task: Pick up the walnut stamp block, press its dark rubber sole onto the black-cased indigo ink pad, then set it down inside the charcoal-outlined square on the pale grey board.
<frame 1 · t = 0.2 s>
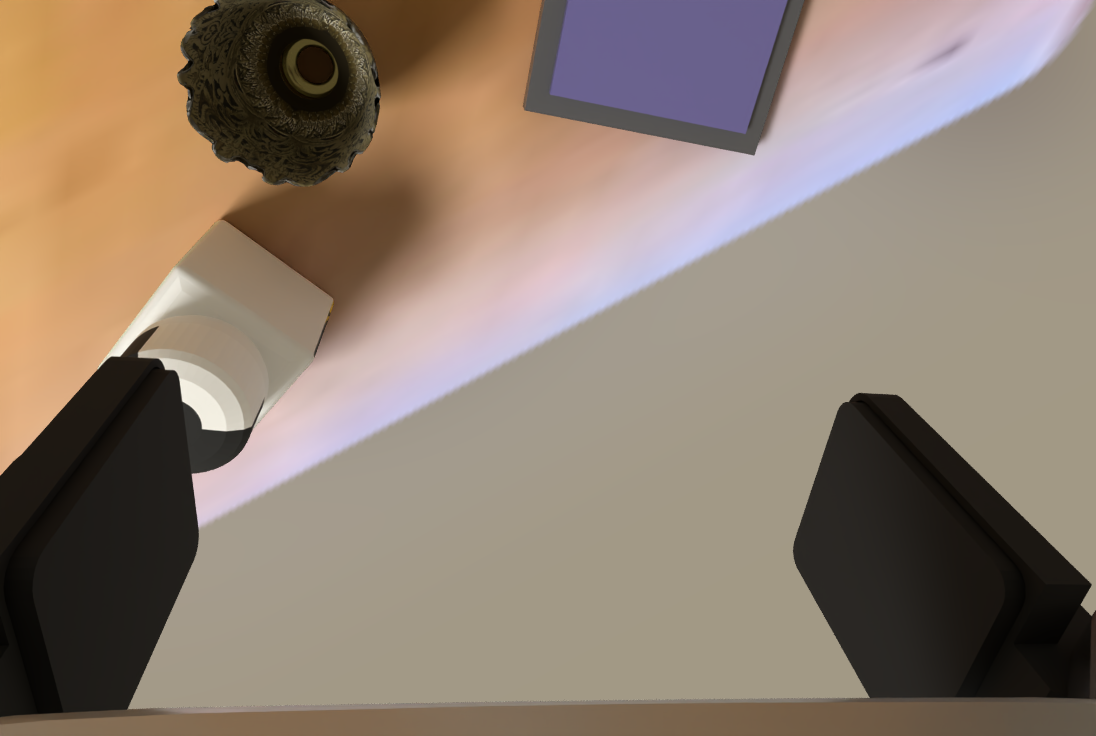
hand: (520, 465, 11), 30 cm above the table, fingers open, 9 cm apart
medicine bottle: (244, 303, 41), on the table
cup: (316, 64, 36), on the table
ink pad: (669, 1, 36), on the table
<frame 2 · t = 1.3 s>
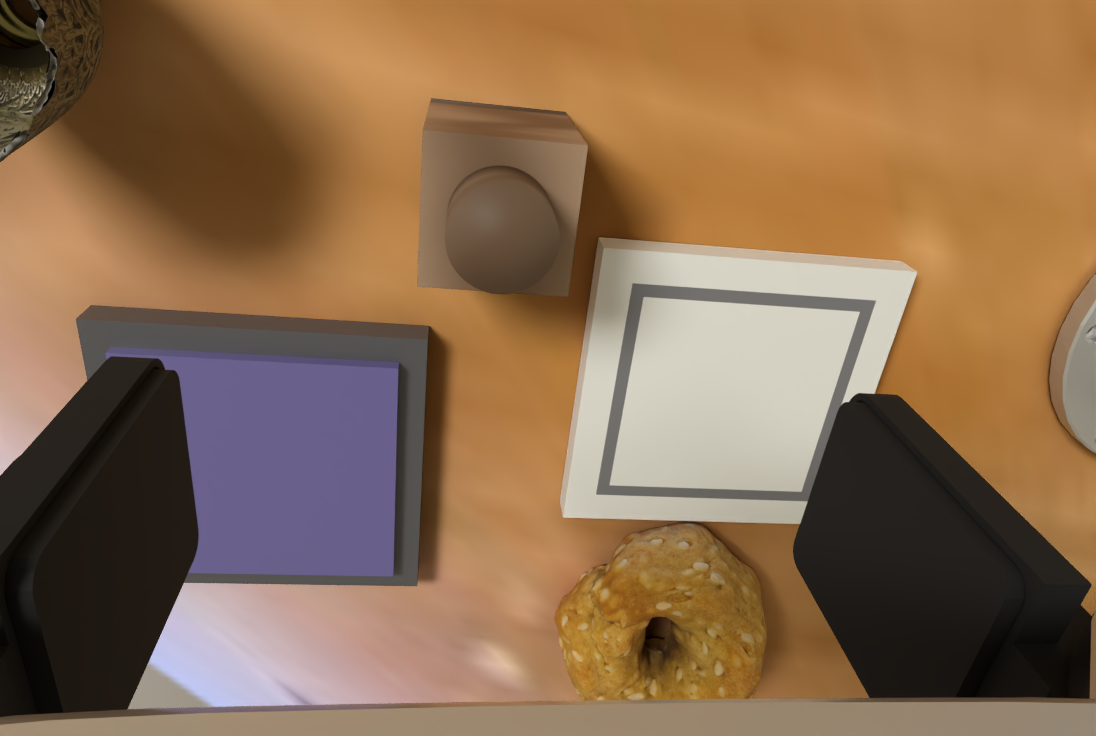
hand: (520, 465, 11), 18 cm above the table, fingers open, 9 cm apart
ink pad: (273, 451, 31), on the table
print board: (720, 387, 31), on the table
stamp: (493, 172, 26), on the table
bagel: (652, 597, 37), on the table
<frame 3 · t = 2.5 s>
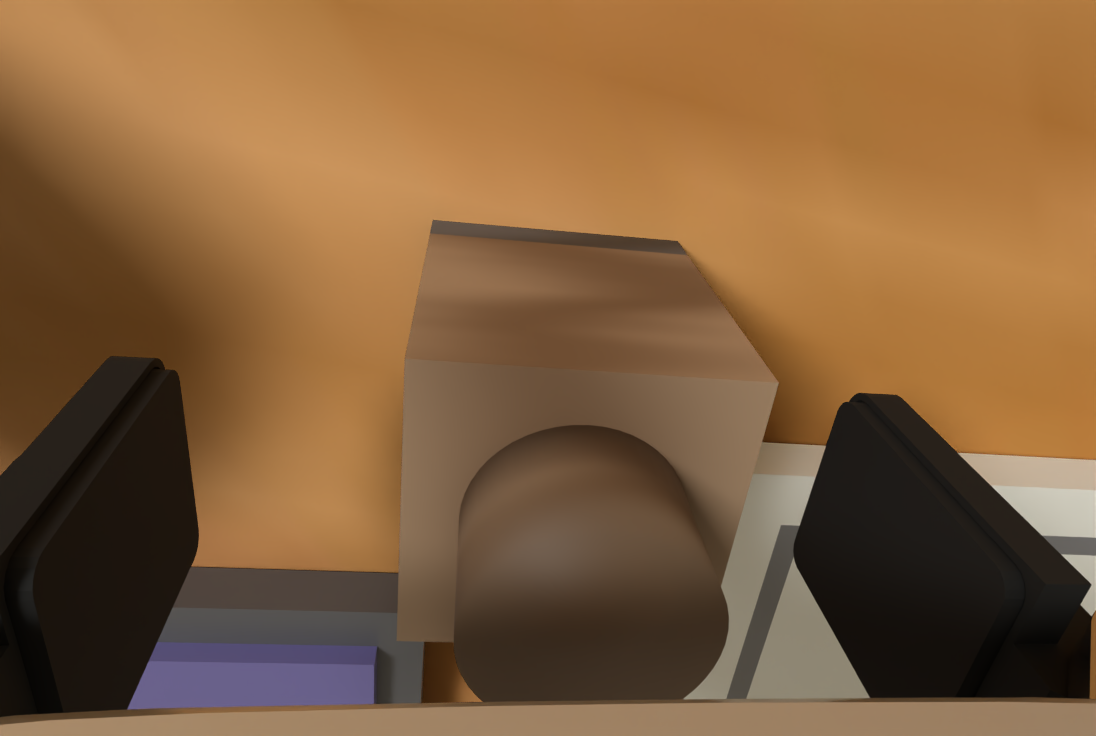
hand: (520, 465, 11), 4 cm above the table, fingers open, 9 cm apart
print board: (894, 647, 20), on the table
stamp: (544, 341, 15), on the table
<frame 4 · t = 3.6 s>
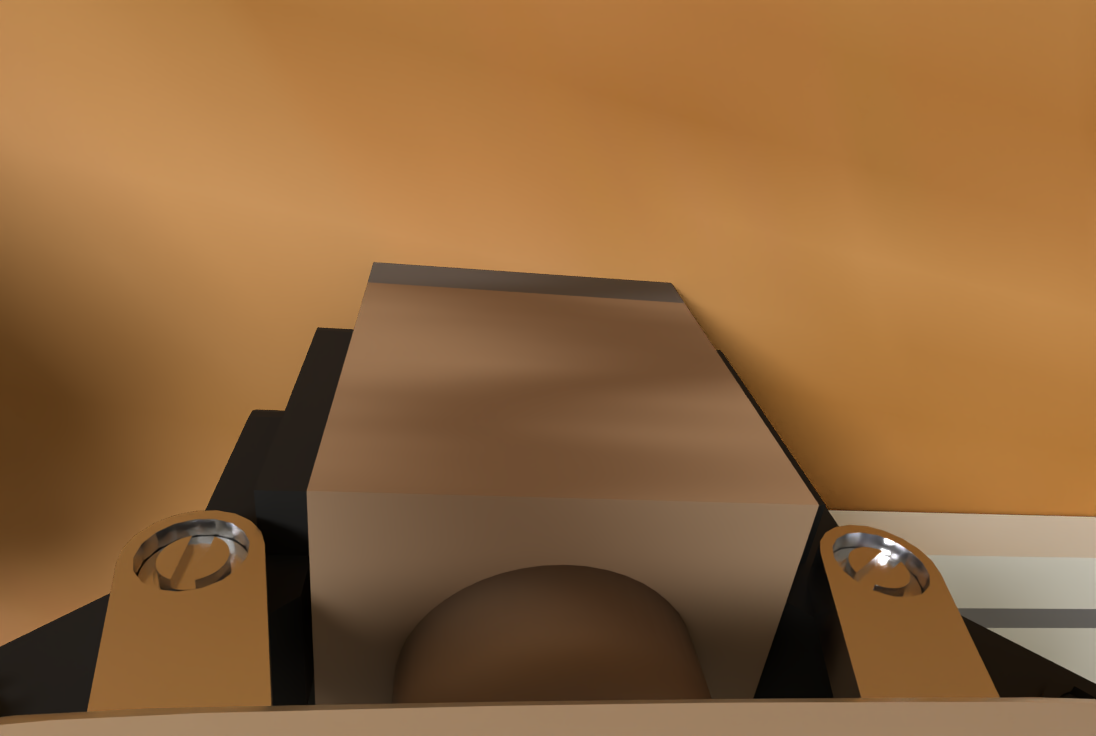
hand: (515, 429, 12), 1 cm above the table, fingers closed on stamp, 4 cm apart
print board: (914, 722, 17), on the table
stamp: (513, 402, 12), on the table, touching gripper
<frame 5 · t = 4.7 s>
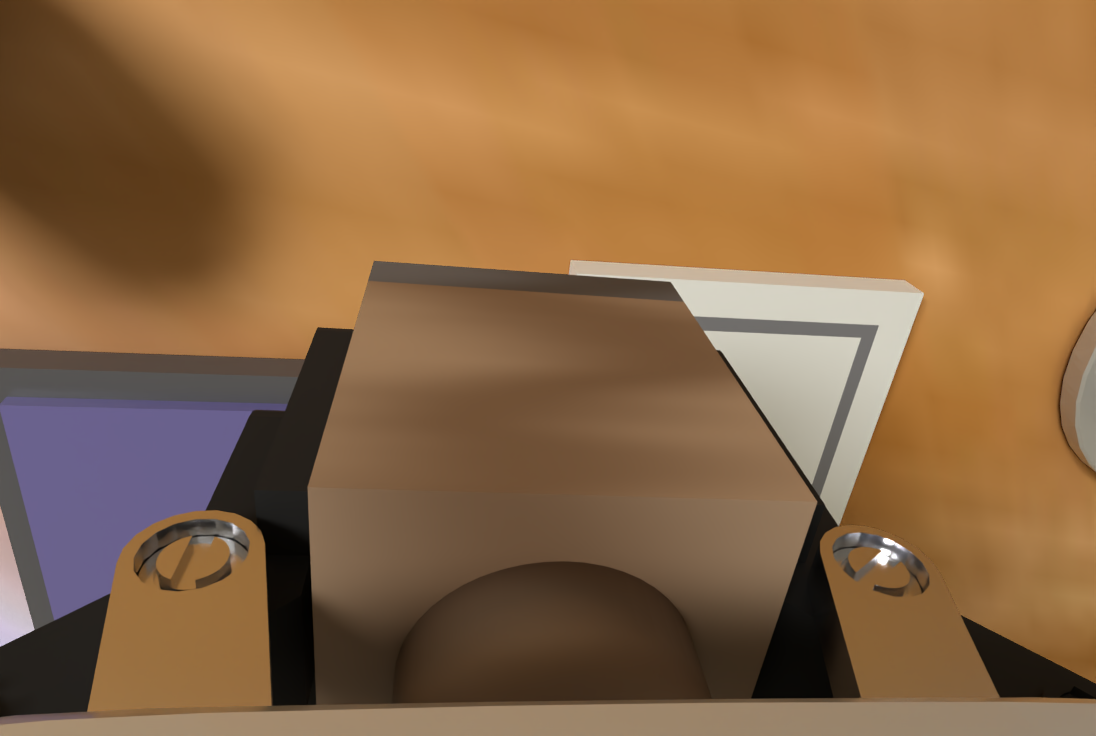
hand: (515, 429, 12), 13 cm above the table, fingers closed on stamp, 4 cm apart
ink pad: (207, 504, 27), on the table
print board: (707, 421, 28), on the table
stamp: (513, 400, 12), point 12 cm above the table, touching gripper
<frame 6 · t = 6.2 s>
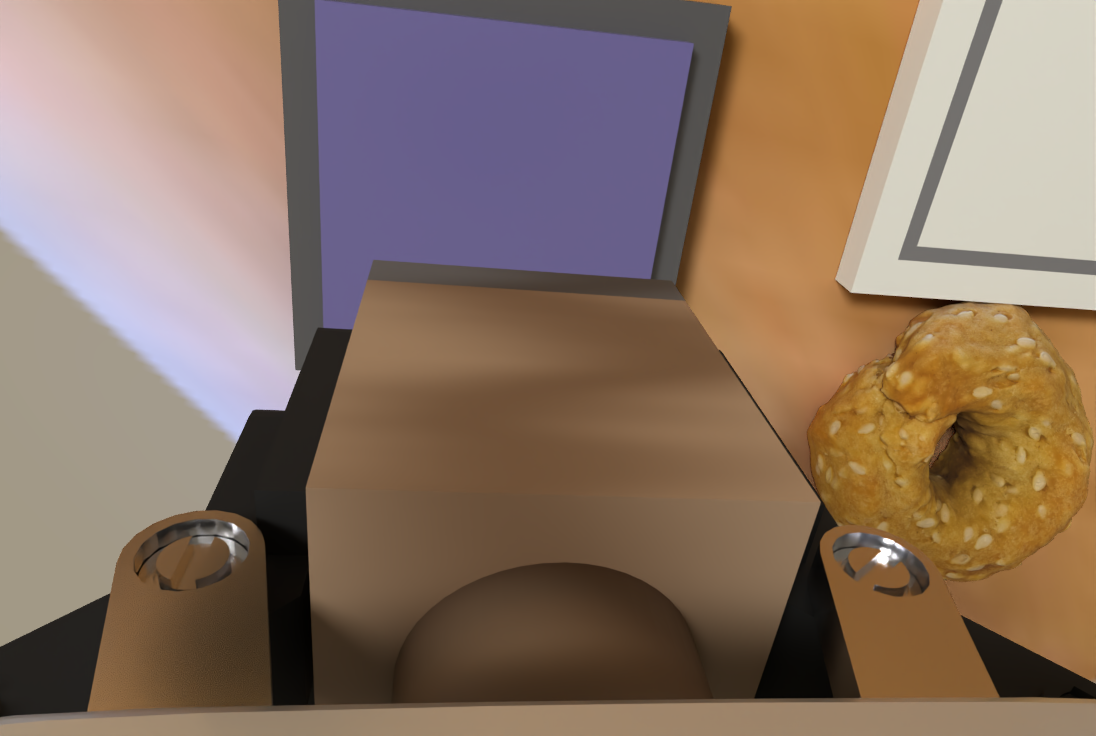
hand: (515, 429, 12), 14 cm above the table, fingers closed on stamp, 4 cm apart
ink pad: (493, 193, 24), on the table
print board: (1063, 117, 24), on the table
stamp: (513, 400, 12), point 13 cm above the table, touching gripper
bagel: (919, 415, 30), on the table
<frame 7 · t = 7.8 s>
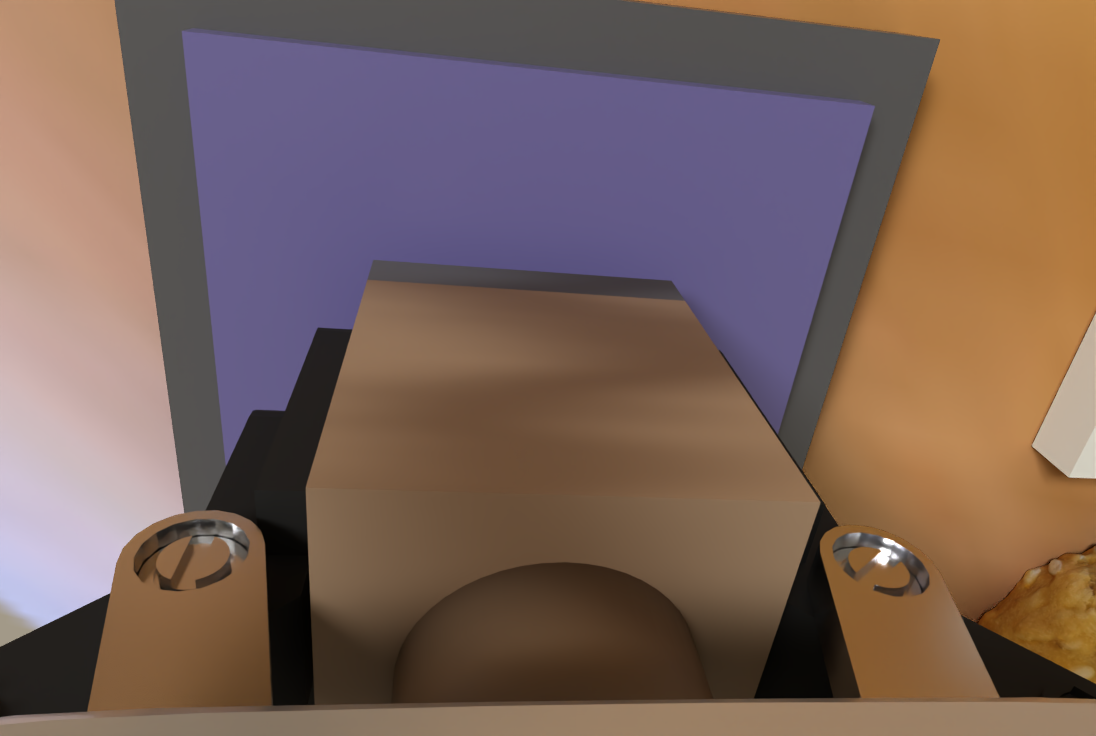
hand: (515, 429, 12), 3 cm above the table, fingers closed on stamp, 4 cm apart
ink pad: (512, 334, 15), on the table
stamp: (513, 400, 12), point 3 cm above the table, touching gripper
when the fingers open (2 cm above the table, at t = 13.5 s): stamp stays where it is, resting on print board.
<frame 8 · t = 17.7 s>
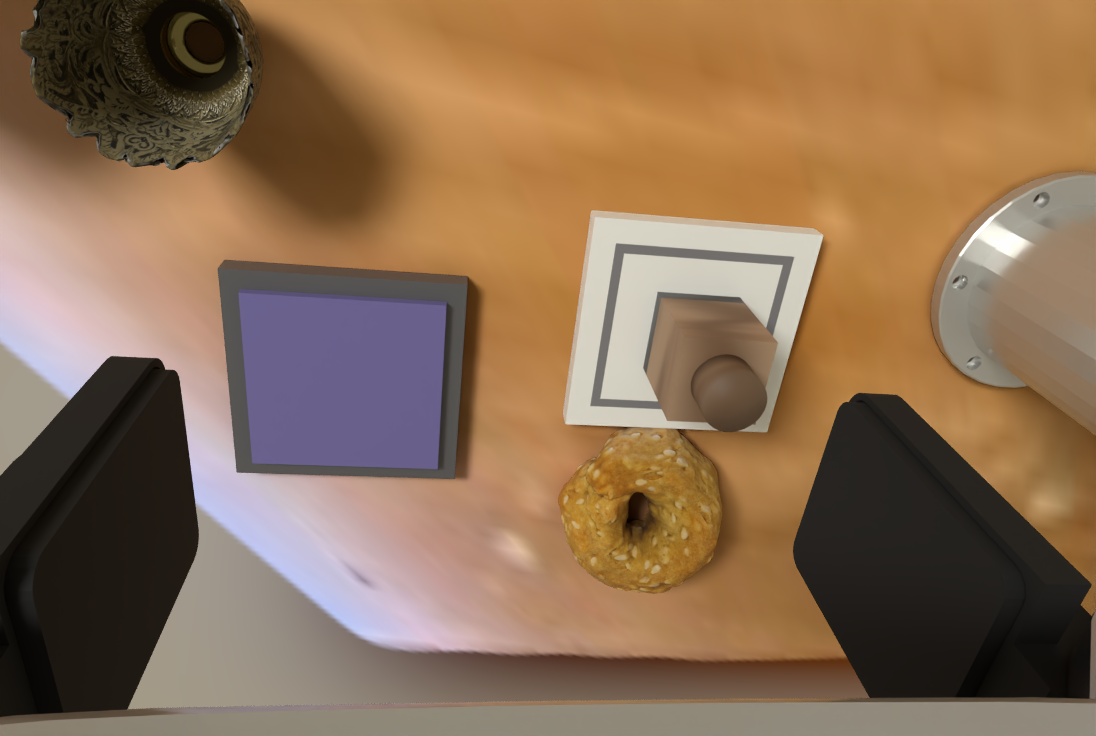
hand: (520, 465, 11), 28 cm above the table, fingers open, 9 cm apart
cup: (206, 42, 33), on the table
ink pad: (349, 372, 41), on the table
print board: (682, 324, 42), on the table
stamp: (690, 333, 41), point 1 cm above the table, touching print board
bagel: (634, 488, 48), on the table
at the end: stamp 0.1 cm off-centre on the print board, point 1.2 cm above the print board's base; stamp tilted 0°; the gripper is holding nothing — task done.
